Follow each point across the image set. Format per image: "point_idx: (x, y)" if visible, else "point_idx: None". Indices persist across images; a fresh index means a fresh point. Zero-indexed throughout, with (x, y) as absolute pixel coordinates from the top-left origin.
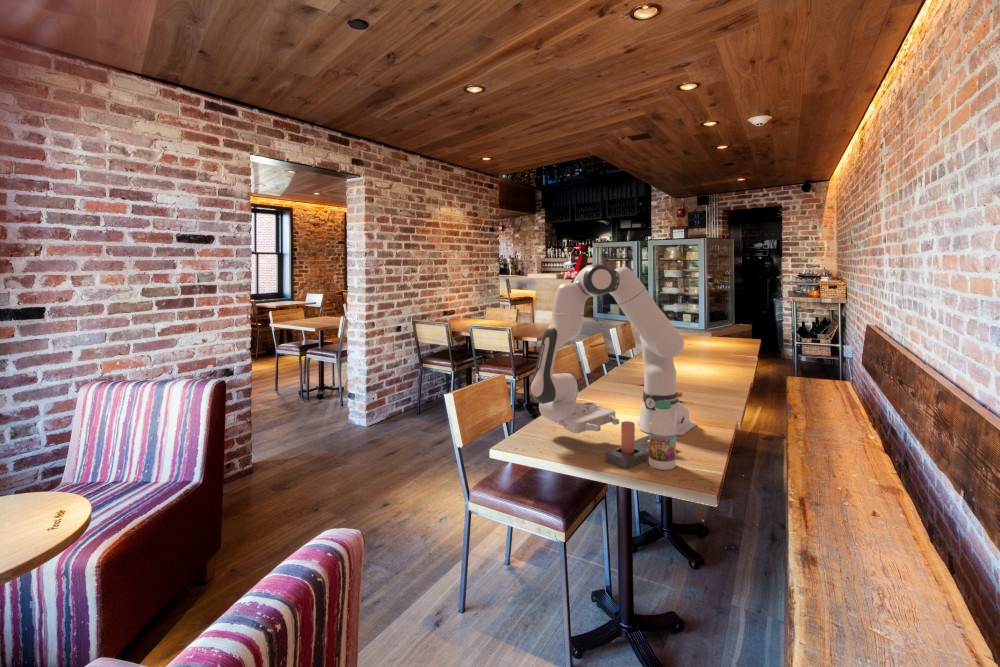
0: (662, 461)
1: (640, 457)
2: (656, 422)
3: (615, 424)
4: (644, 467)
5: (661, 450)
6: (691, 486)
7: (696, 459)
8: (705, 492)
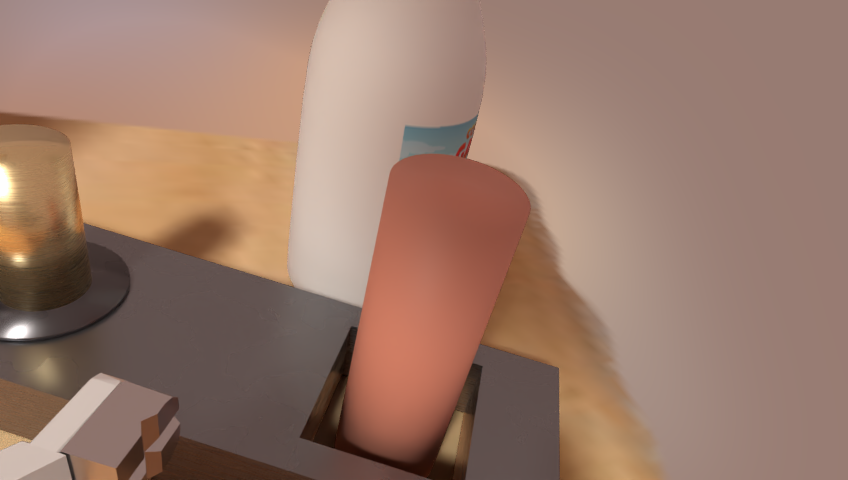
0: None
1: None
2: (481, 24)
3: (166, 457)
4: None
5: None
6: None
7: (195, 180)
8: (504, 173)
